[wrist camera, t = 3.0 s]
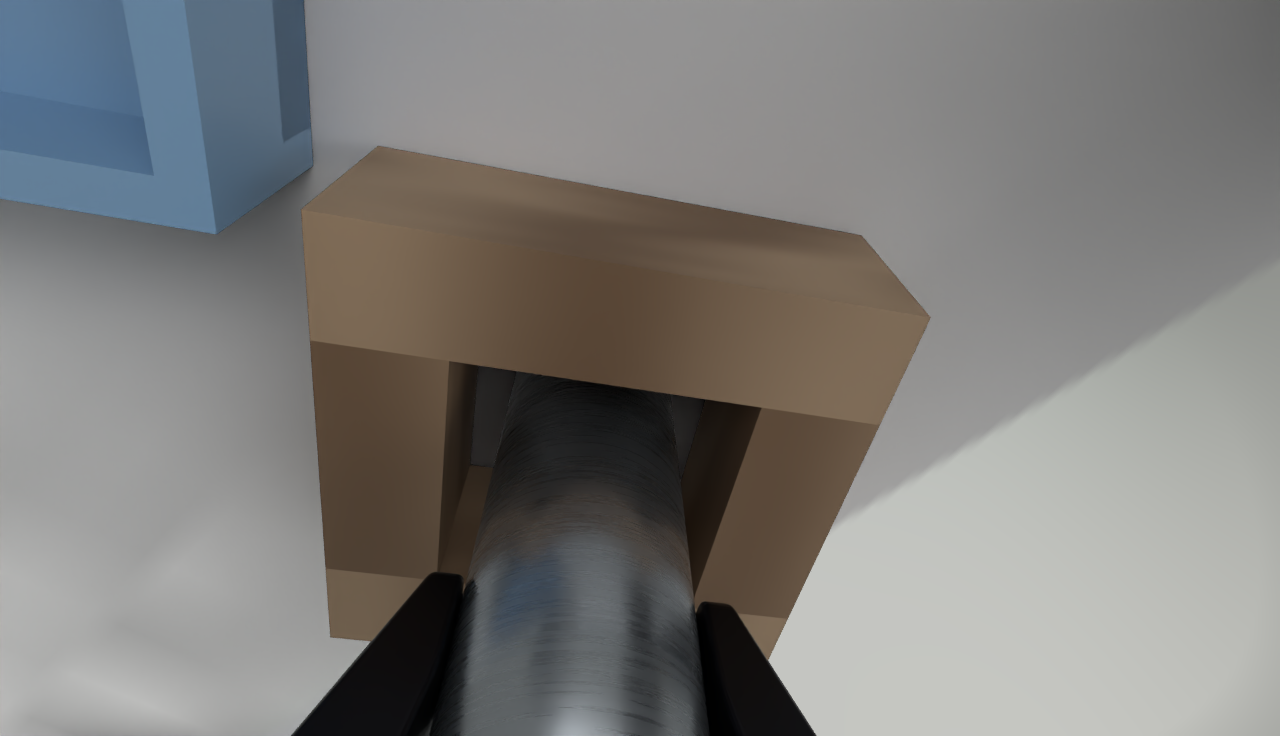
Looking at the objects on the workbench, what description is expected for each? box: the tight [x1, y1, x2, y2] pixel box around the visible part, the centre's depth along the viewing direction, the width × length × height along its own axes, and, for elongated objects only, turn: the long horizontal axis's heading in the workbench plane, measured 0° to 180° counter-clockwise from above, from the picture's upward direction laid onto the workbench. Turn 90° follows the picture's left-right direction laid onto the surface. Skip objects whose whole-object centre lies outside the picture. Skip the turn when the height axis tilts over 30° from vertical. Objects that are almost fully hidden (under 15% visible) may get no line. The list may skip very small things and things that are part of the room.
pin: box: [429, 371, 710, 736], centre depth 8 cm, size 4×4×11 cm
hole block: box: [301, 146, 931, 660], centre depth 12 cm, size 8×8×3 cm
